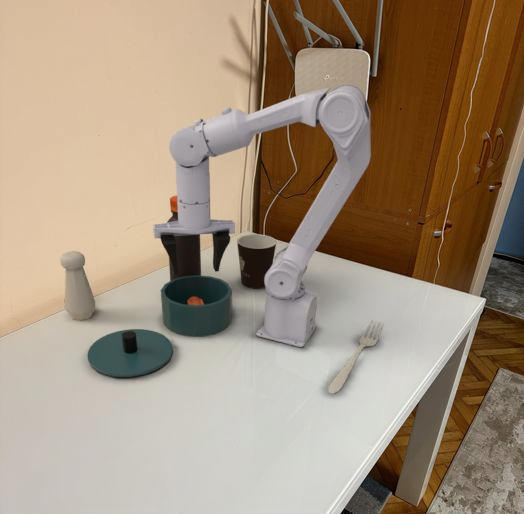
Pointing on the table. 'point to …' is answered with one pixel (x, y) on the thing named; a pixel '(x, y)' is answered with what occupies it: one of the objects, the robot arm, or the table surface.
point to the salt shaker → (77, 287)
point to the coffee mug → (255, 258)
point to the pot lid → (130, 352)
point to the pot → (196, 316)
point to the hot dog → (195, 301)
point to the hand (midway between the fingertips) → (196, 271)
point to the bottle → (185, 249)
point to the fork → (354, 358)
